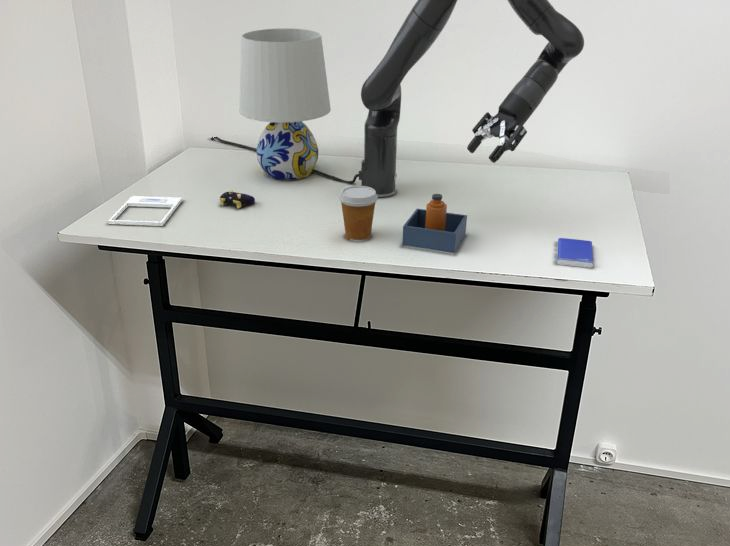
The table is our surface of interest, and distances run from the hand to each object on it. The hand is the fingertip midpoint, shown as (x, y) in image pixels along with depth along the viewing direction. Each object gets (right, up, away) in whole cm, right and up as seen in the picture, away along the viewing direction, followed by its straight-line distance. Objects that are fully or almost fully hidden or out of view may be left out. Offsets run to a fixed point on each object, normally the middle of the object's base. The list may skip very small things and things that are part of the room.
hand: (480, 155), depth 175 cm
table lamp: (-52, +8, +48) cm, 71 cm away
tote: (-11, -20, +5) cm, 23 cm away
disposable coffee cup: (-30, -19, +7) cm, 36 cm away
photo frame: (-88, -10, +21) cm, 91 cm away
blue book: (+23, -25, -2) cm, 34 cm away
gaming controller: (-64, -7, +26) cm, 70 cm away
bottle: (-11, -20, +5) cm, 23 cm away
